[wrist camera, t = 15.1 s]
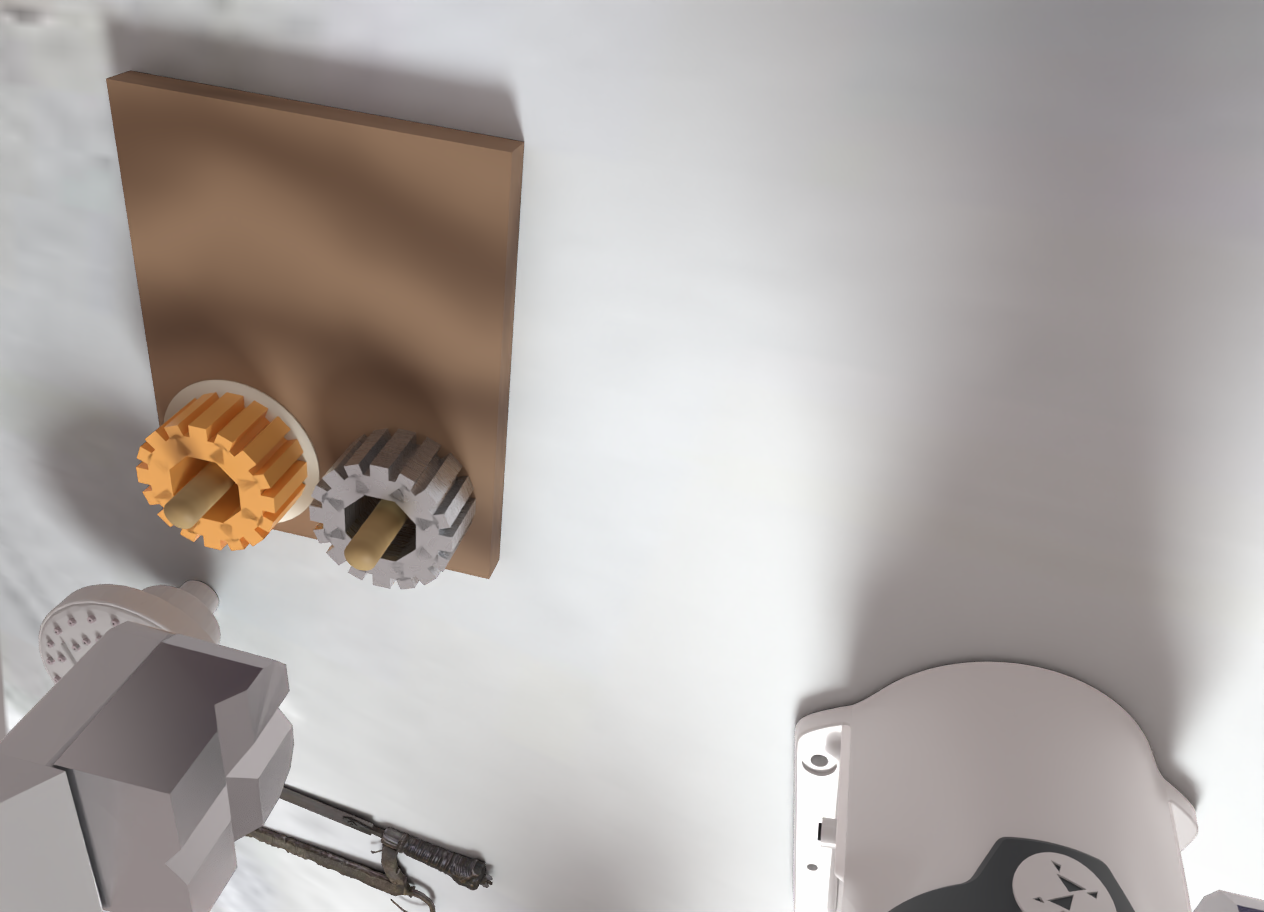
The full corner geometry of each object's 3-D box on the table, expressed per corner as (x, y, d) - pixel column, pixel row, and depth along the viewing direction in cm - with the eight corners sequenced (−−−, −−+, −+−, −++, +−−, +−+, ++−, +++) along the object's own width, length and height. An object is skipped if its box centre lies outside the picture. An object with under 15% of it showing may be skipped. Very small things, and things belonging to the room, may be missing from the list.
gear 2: (473, 561, 48) (450, 602, 45) (342, 532, 48) (313, 570, 46) (478, 445, 44) (453, 483, 42) (337, 415, 45) (305, 450, 42)
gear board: (499, 559, 49) (451, 650, 44) (189, 489, 51) (106, 568, 46) (524, 141, 38) (464, 194, 33) (130, 70, 40) (12, 109, 35)
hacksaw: (501, 859, 62) (493, 881, 61) (467, 949, 68) (459, 971, 66) (127, 717, 62) (111, 736, 61) (125, 818, 68) (110, 837, 67)
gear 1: (310, 525, 48) (279, 563, 46) (184, 496, 49) (147, 532, 47) (303, 408, 45) (268, 443, 42) (167, 379, 46) (126, 411, 43)
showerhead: (245, 768, 50) (73, 758, 52) (315, 666, 56) (157, 661, 58) (174, 616, 45) (-11, 612, 48) (258, 522, 51) (90, 524, 54)
